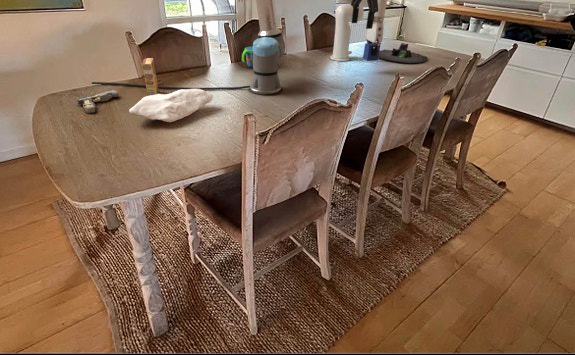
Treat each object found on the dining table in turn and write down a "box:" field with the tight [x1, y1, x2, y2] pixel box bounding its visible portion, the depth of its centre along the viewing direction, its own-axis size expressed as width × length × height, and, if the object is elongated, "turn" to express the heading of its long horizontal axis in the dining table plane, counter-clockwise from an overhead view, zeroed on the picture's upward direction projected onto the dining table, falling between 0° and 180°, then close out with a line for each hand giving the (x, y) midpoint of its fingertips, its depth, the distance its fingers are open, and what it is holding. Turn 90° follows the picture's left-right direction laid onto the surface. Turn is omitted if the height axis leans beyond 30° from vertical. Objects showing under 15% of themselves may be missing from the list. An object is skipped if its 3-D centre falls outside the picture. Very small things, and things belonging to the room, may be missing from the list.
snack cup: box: [241, 45, 253, 69], centre depth 208 cm, size 16×10×10 cm
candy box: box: [141, 57, 160, 96], centre depth 163 cm, size 9×4×15 cm, turn 13°
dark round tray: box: [378, 42, 428, 64], centre depth 240 cm, size 35×35×9 cm
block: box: [362, 42, 381, 62], centre depth 204 cm, size 5×7×8 cm
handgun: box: [76, 89, 120, 114], centre depth 155 cm, size 3×18×15 cm
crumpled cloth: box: [129, 89, 214, 123], centre depth 147 cm, size 24×35×9 cm
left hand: (361, 25), depth 167 cm, fingers open, 13 cm apart
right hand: (371, 53), depth 205 cm, fingers closed on block, 4 cm apart
